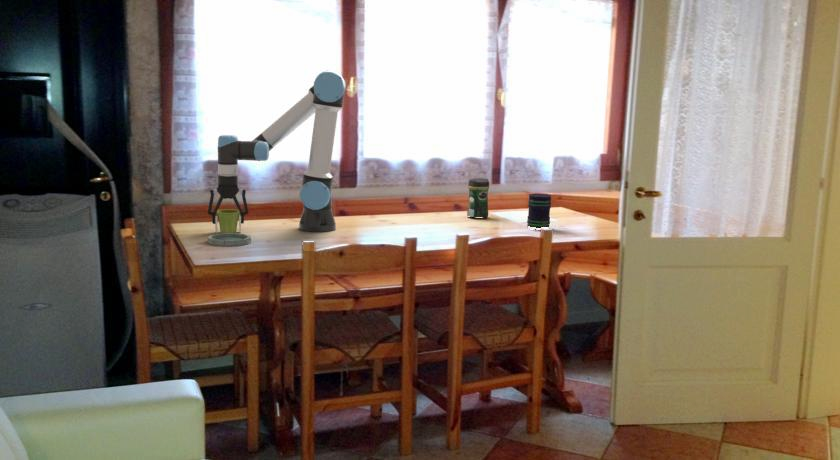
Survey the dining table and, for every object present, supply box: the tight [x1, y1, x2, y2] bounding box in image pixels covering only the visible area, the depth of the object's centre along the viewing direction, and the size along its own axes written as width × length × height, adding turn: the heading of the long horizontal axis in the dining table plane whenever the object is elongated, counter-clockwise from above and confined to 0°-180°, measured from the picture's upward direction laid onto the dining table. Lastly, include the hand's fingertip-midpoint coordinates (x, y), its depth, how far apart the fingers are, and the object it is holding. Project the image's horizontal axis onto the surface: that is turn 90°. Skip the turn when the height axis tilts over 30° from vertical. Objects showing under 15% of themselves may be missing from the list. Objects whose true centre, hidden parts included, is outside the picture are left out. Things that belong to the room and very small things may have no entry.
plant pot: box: [216, 208, 240, 234], centre depth 322 cm, size 9×9×9 cm
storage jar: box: [526, 193, 552, 228], centre depth 355 cm, size 10×10×15 cm
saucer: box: [207, 232, 252, 247], centre depth 304 cm, size 16×16×2 cm
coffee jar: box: [466, 177, 490, 218], centre depth 380 cm, size 10×8×19 cm
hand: (228, 231), depth 323 cm, fingers closed on plant pot, 8 cm apart
